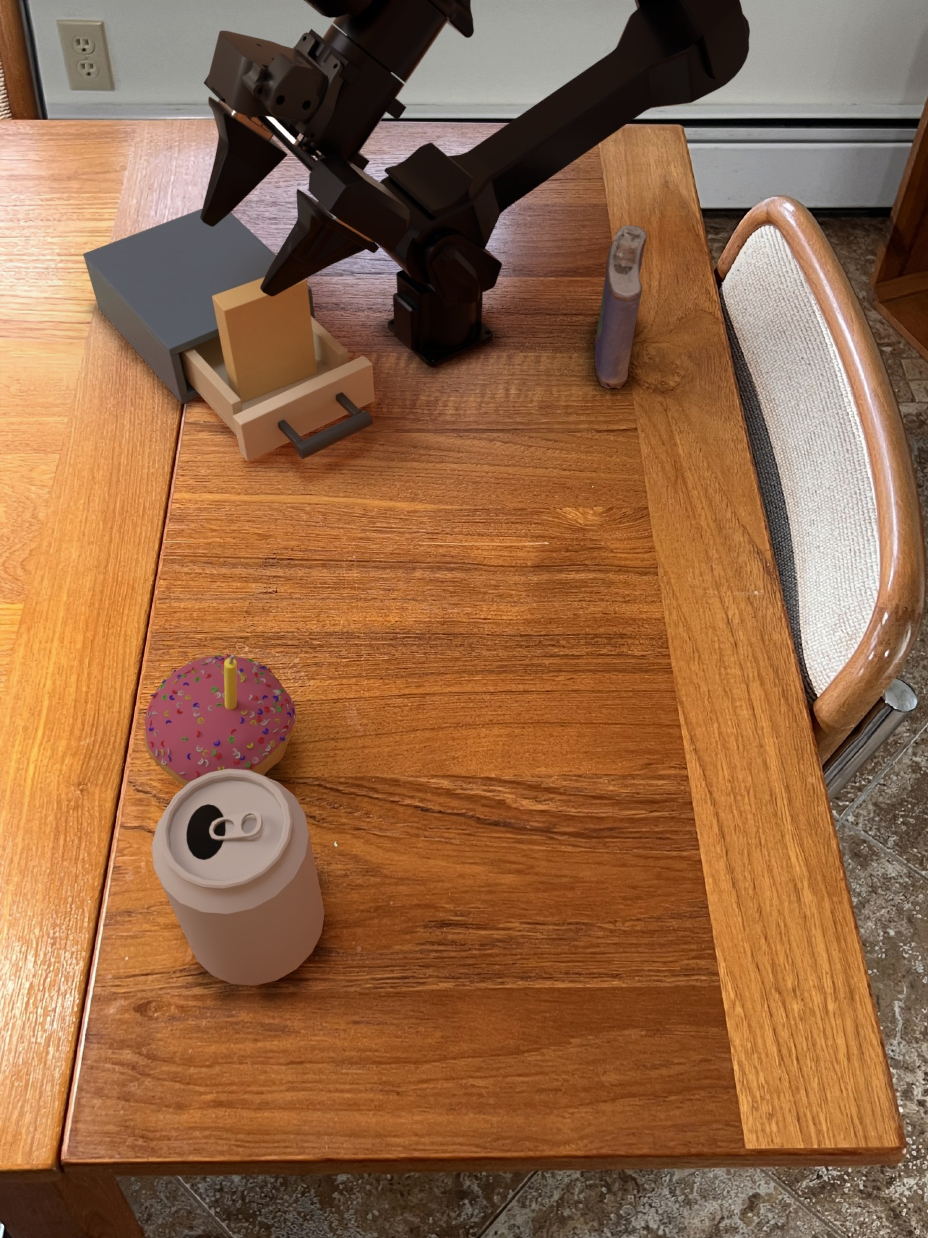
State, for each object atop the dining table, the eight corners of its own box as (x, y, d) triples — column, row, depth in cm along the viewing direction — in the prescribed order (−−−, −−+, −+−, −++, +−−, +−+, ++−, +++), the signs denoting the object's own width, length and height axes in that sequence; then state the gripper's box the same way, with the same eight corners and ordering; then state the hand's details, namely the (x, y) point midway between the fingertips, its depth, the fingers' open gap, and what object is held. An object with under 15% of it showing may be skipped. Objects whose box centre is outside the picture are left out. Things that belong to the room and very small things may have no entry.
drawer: (403, 428, 86) (402, 391, 83) (275, 492, 82) (268, 455, 79) (283, 311, 95) (278, 273, 92) (161, 363, 90) (151, 325, 88)
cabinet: (318, 343, 94) (312, 288, 89) (181, 404, 89) (168, 349, 85) (229, 256, 100) (219, 201, 96) (98, 308, 96) (82, 253, 91)
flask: (626, 391, 91) (645, 276, 82) (589, 387, 91) (603, 272, 82) (633, 318, 96) (651, 203, 88) (598, 314, 96) (612, 199, 88)
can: (193, 866, 66) (150, 759, 56) (325, 857, 66) (305, 749, 57) (185, 997, 61) (137, 904, 52) (326, 986, 62) (305, 892, 52)
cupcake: (323, 724, 72) (305, 605, 62) (265, 842, 67) (235, 733, 57) (198, 685, 73) (162, 564, 64) (132, 798, 68) (82, 684, 59)
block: (305, 358, 89) (294, 265, 83) (317, 373, 88) (307, 280, 82) (229, 388, 87) (211, 295, 81) (241, 403, 86) (223, 310, 80)
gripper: (209, -79, 71) (83, 137, 76) (358, 49, 62) (203, 286, 67) (330, 20, 80) (210, 208, 85) (476, 145, 71) (331, 348, 76)
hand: (235, 257), depth 78 cm, fingers open, 9 cm apart
